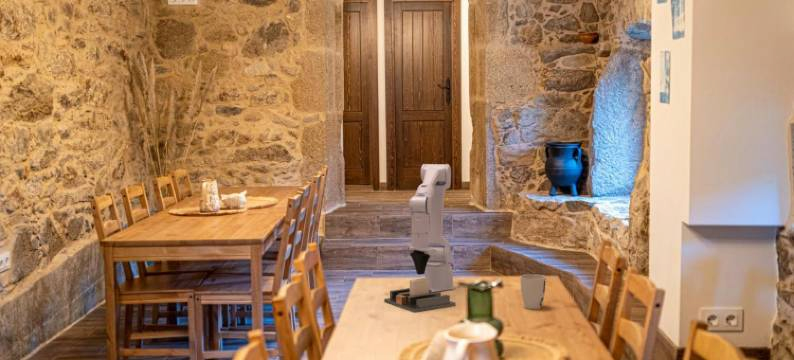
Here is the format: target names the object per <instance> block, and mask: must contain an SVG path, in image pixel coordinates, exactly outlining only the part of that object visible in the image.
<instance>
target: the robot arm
mask: <svg viewBox="0 0 794 360" xmlns="http://www.w3.org/2000/svg"><path fill="white" fill-rule="evenodd" d="M451 178H452V168H451V166H450V164H448V163H446V164H445V163H444V164H441V163H440V164H437V163H436V164H434V163H433V164H431V163H429V164H427V163H423V164H422V165H421V167H420V179H421V181H422V183H421V184H420V185H418V187H417V190H416V191H415V194H414V195H413V196H412V197H410V198H409V201H408V209H409V217H410V220H411V242H406V243H405V249H406V250H410V251H412V252H410V253H409V255H410V257H411V258H412V260H413V264H414V267H415V271H416V274H417V275H418V276H419V275H424V278H426V279H429V289H430V290H431V293H433V292H442V291H449V290H455V286H454V271H453V267H452V265H451V264H450V263H449V262H450V260H451V244H450V241H449V240H447V239H446V238H445V237H444V236H443V234H444V233H443V229H444V228H443V227H444V208H445V207H444V206H445V205H444V204H445V193H446V190H448V189H450V188H451V183H452V179H451Z"/></svg>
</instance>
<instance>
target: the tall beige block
mask: <svg viewBox="0 0 794 360" xmlns="http://www.w3.org/2000/svg"><path fill="white" fill-rule="evenodd" d="M409 288H410V296H414V295H420V294H427V293H429V279H426V278H425V277H422V278H415V279H409Z"/></svg>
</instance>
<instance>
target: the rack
mask: <svg viewBox="0 0 794 360" xmlns="http://www.w3.org/2000/svg"><path fill="white" fill-rule="evenodd" d="M450 297H451V296H450V295H449V294H445V295H442V293H441V292H440V291H437V292H431V290H430V289H429V293H427V294H420V295H414V296H410V287H408V288H400V289H392V290H389V297H388V298H384V299H383V302H384V303H387V304H389V305H391V306H395V307H398V308H400V309H403V310H406V311H409V312H412V313H419V312H425V311H426V312H427V311H431V310H432V311H433V310H437V309H439V310H440V309H445V308H450V307H456V302H455V301H451V298H450Z"/></svg>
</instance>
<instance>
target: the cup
mask: <svg viewBox="0 0 794 360" xmlns="http://www.w3.org/2000/svg"><path fill="white" fill-rule="evenodd" d="M546 279H547V277H546V276H545V275H543V274H538V273H537V274H535V273H534V274H530V273H529V274H522V275H520V290H521V298H522V301H523V305H524V308H525V309H528V310H540V309H541V308H542V306H543V304H544V303H543V302H544V298H545V293H546V283H547V281H546Z"/></svg>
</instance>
